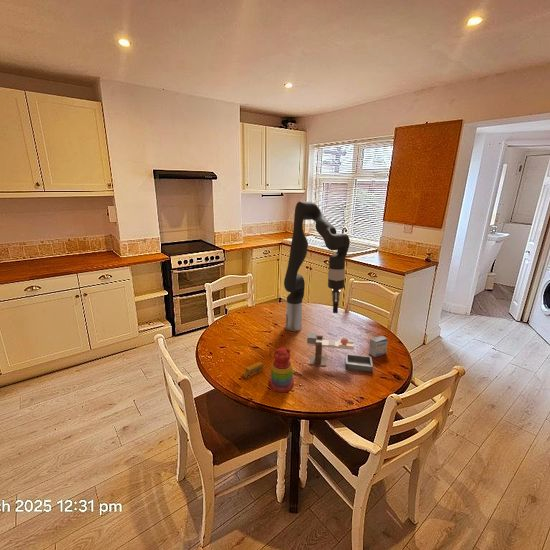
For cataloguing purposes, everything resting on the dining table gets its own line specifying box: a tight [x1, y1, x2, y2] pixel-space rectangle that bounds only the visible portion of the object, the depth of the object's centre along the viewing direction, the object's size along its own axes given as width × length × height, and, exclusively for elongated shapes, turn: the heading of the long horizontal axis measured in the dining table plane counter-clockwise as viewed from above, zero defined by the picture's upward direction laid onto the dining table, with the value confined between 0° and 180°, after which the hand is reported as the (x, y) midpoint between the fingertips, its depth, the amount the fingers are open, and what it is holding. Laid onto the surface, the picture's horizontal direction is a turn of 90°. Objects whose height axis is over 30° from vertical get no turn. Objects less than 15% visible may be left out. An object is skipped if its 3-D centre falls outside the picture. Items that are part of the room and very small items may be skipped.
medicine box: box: [368, 335, 388, 358], centre depth 151 cm, size 8×4×9 cm, turn 118°
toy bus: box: [241, 361, 264, 379], centre depth 136 cm, size 3×10×4 cm, turn 130°
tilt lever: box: [306, 332, 355, 351], centre depth 142 cm, size 22×6×4 cm, turn 78°
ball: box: [340, 337, 349, 345], centre depth 140 cm, size 3×3×3 cm
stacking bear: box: [268, 347, 295, 393], centre depth 126 cm, size 11×10×18 cm
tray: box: [344, 353, 374, 374], centre depth 142 cm, size 12×9×3 cm
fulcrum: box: [309, 334, 328, 367], centre depth 144 cm, size 8×8×12 cm
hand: (335, 312), depth 141 cm, fingers closed
